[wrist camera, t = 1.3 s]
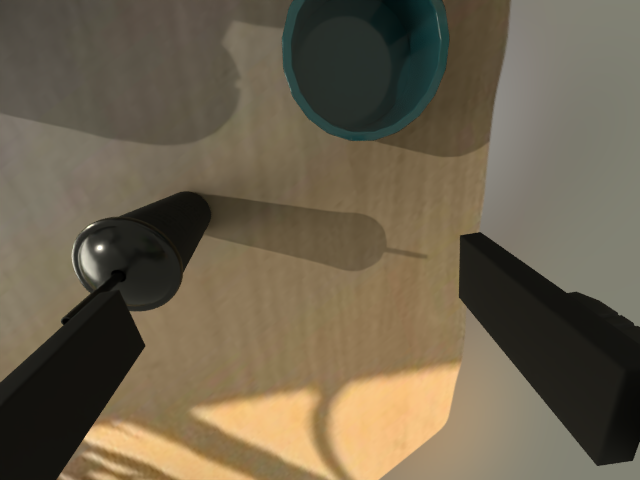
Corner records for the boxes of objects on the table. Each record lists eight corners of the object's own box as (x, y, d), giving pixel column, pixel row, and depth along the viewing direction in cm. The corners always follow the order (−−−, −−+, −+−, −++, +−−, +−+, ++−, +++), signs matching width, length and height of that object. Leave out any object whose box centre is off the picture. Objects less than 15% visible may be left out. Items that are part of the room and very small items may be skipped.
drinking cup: (206, 169, 34) (91, 241, 16) (234, 232, 37) (165, 355, 18) (141, 190, 35) (-45, 284, 16) (173, 250, 37) (48, 388, 19)
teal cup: (261, 51, 30) (247, 32, 23) (369, -47, 28) (393, -103, 20) (336, 157, 34) (345, 171, 27) (437, 81, 32) (477, 73, 24)
